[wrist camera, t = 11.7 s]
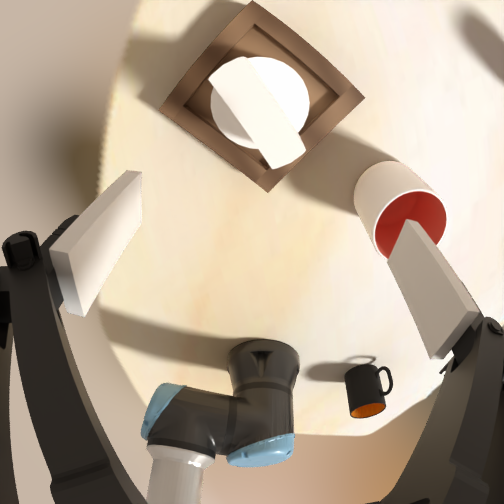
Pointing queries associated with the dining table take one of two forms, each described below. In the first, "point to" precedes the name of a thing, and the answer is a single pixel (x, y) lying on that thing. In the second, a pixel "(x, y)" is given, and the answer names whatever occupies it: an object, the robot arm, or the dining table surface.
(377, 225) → the cup
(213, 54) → the walnut base
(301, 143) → the cylinder with rectangular tab
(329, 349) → the dining table surface
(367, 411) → the mug
